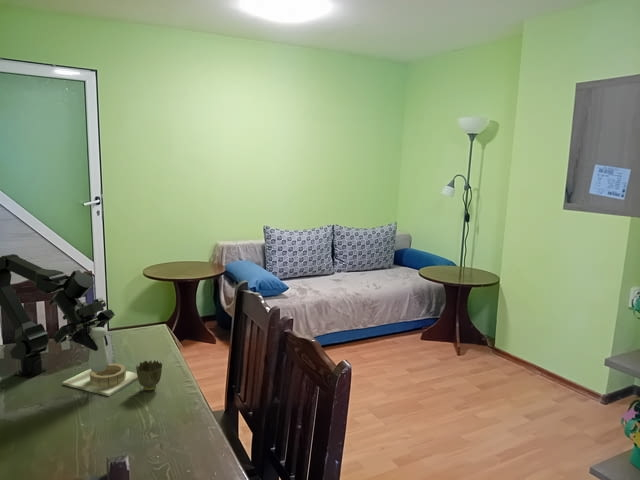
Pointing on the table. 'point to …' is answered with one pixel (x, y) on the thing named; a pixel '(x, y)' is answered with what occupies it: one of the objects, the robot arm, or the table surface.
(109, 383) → the socket
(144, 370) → the cup
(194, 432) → the table surface
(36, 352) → the robot arm
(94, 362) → the salt shaker
